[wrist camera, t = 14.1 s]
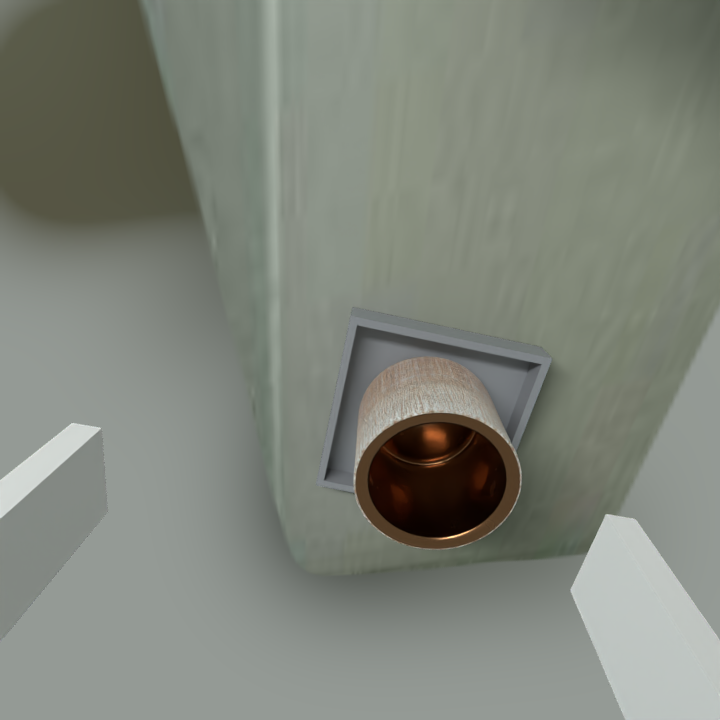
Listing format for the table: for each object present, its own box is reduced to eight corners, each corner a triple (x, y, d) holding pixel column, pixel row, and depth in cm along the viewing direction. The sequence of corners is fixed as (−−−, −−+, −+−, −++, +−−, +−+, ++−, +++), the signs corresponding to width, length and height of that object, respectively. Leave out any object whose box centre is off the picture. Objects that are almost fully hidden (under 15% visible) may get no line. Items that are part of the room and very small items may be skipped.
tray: (352, 306, 36) (350, 315, 33) (541, 347, 36) (552, 358, 34) (319, 467, 41) (315, 485, 39) (483, 500, 42) (489, 519, 39)
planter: (491, 464, 40) (523, 547, 31) (366, 474, 40) (362, 556, 32) (489, 346, 36) (525, 401, 27) (350, 359, 37) (340, 417, 28)
